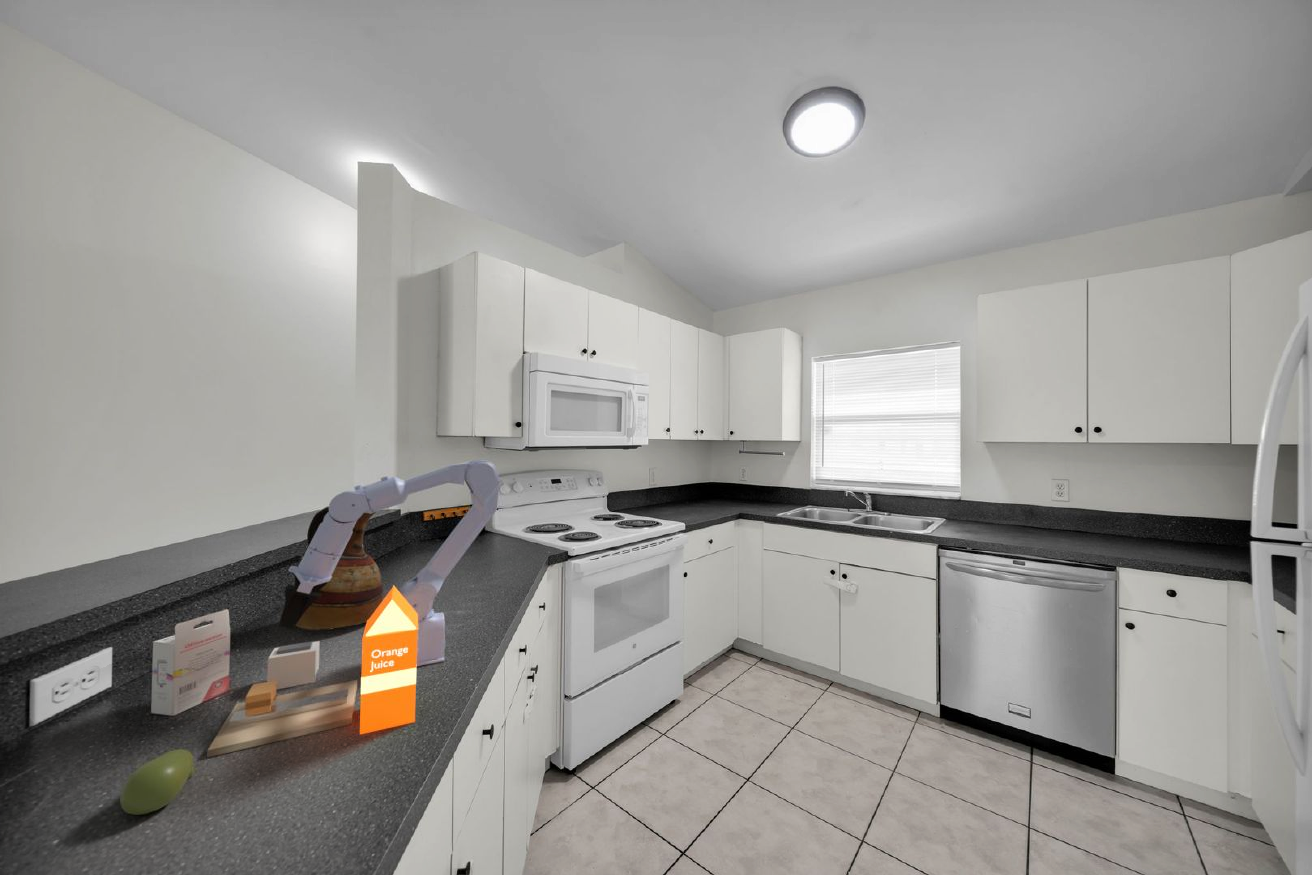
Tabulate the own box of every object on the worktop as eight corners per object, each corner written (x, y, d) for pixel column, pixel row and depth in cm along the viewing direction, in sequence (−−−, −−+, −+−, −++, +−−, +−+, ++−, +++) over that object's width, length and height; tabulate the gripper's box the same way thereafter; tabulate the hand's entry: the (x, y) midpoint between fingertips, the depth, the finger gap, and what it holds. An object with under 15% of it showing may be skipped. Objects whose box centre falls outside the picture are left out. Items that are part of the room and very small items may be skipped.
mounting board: (357, 685, 86) (357, 680, 86) (351, 723, 74) (351, 717, 74) (236, 709, 78) (236, 703, 78) (207, 757, 66) (207, 750, 66)
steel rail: (348, 694, 81) (348, 688, 81) (347, 702, 78) (347, 696, 78) (234, 718, 73) (234, 711, 73) (228, 728, 71) (229, 721, 71)
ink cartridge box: (207, 688, 85) (211, 606, 85) (229, 691, 84) (233, 608, 84) (148, 713, 76) (152, 622, 77) (171, 717, 75) (175, 625, 76)
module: (318, 670, 92) (319, 637, 92) (314, 682, 87) (315, 647, 88) (273, 679, 88) (274, 644, 89) (266, 691, 84) (268, 655, 84)
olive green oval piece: (112, 778, 53) (151, 746, 62) (106, 831, 52) (147, 790, 61) (178, 763, 56) (208, 733, 65) (174, 812, 55) (204, 776, 64)
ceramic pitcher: (350, 640, 107) (354, 508, 108) (263, 639, 107) (268, 508, 108) (398, 611, 126) (401, 500, 128) (325, 610, 127) (328, 499, 128)
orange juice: (358, 735, 71) (362, 602, 72) (364, 706, 79) (367, 587, 80) (416, 721, 75) (419, 595, 75) (416, 696, 82) (418, 581, 83)
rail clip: (276, 698, 77) (277, 679, 77) (270, 711, 73) (270, 692, 73) (252, 703, 75) (253, 684, 75) (245, 716, 71) (245, 696, 71)
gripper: (308, 537, 95) (273, 603, 92) (295, 551, 82) (254, 628, 80) (346, 547, 98) (314, 611, 95) (339, 563, 86) (301, 637, 83)
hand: (290, 620), depth 88 cm, fingers open, 7 cm apart
